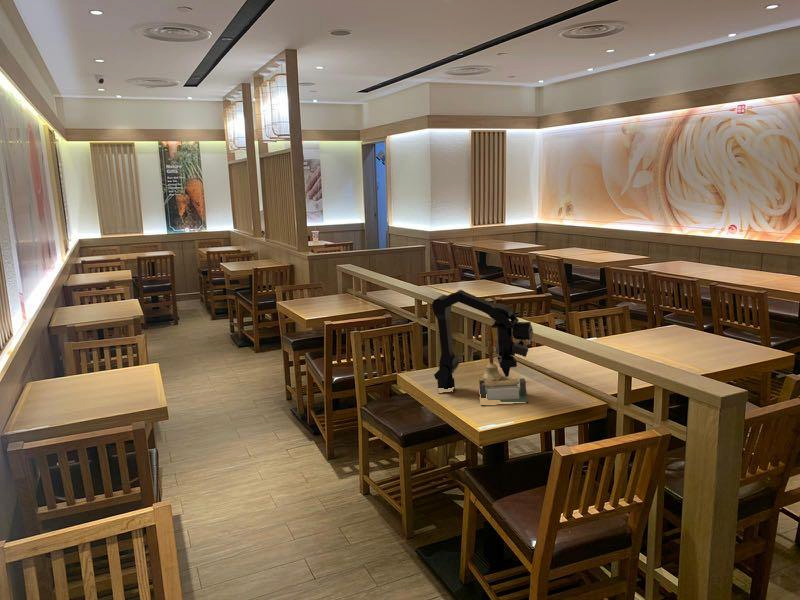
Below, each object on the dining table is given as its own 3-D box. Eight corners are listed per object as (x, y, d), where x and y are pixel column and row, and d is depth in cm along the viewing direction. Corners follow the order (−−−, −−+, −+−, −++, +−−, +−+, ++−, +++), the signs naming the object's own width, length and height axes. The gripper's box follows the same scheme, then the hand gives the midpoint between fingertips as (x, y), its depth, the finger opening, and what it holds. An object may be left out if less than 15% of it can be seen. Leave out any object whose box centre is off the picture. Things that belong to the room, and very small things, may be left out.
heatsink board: (480, 406, 227) (479, 390, 225) (478, 391, 240) (477, 376, 239) (528, 403, 225) (527, 387, 224) (523, 388, 239) (522, 373, 237)
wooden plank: (482, 387, 231) (482, 385, 231) (482, 384, 234) (481, 382, 234) (519, 383, 230) (518, 381, 229) (518, 380, 232) (517, 378, 232)
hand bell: (491, 382, 248) (489, 346, 244) (478, 377, 255) (476, 342, 251) (506, 377, 252) (504, 341, 248) (493, 372, 259) (491, 337, 255)
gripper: (529, 344, 217) (531, 384, 221) (522, 329, 235) (524, 366, 239) (499, 346, 218) (501, 386, 222) (494, 331, 236) (496, 368, 240)
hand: (506, 376), depth 231 cm, fingers closed
